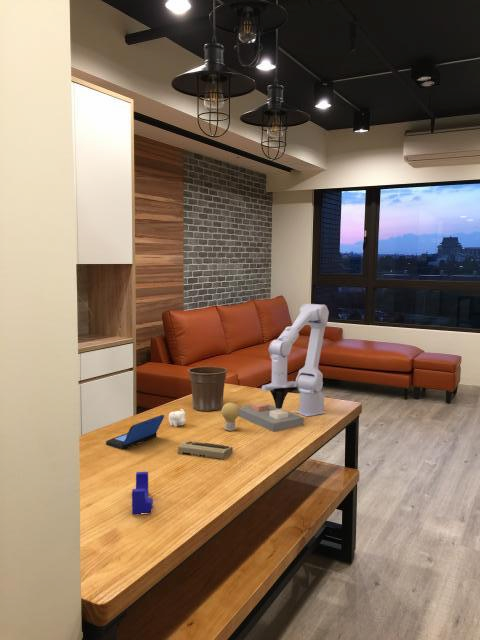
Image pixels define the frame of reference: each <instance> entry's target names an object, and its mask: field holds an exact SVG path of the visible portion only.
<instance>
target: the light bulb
mask: <svg viewBox="0 0 480 640" xmlns="http://www.w3.org/2000/svg"><path fill="white" fill-rule="evenodd" d="M239 408H240V407H239V406H238V405H237V404H236V403H234V402H227V403H225V404H223V405H222V408H221V416H222V417H223V418H224V420H225V421H224V429H225V430H226V431H229V432H233V431H235V430H236V420H237V418H238V417H239V416H238V415H239Z"/></svg>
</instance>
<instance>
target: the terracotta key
mask: <svg viewBox="0 0 480 640" xmlns="http://www.w3.org/2000/svg"><path fill="white" fill-rule="evenodd" d="M265 403H266V402H263V401H260V402H254V403H251V405H250V406H251V409H253V410H256V411H258V412H260V411H265V410H269V405H270V404H269V403H267V404H265ZM268 404H269V405H268Z"/></svg>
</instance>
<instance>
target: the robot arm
mask: <svg viewBox="0 0 480 640" xmlns="http://www.w3.org/2000/svg"><path fill="white" fill-rule="evenodd" d="M329 314H330V312H329V309H328V306H327V305H326V304H316V303H307V302H305V303H303V304H302V306H301V307H300V308H299V314H298V316H297V317H296V319H295V321H294V322H293V323H292V325H291V326H290V325H289V326H286V327H285V329H284V330H283V331H282V333H280V335H279V337H277V339H273V340H272V341H271V342H270V343H269V347H268V353H269V356H270V359H271V382H270V383H268V384H264V385H261V391H262V392H265V393H266V392H269V391H270V393H271V396H272V398H273V401H274V404H275V407H276V408H278V409H283V405H284V402H285V399H286V397H287V395H288V394H289V389H290V388H297V389H298V392H299V409H297V410H295V411H294V412H295V414H296V413H297V414H300V415H301V416H303V417H304V416H305V417H312V416H317V415H322V414H326V412H325V411H324V410H325V407H324V406H325V396H324V393H323V392H322V389H323V384H324V382H323V378H324V375H323V373H322V372H321V371H320V370H319V363H320V359H321V353H322V347H323V340H324V335H325V331H326V329H325V328H326V326H327V325H328V320H329ZM306 325H309V326H310V335H309V340H308V345H307V353H306V357H305V362H304V366H303V367H302V368H300V369H299V370H298V373H297V376H296V377H295V378H296V379H295V381H294V380H291V381H288V356H289V355H290V354H291V352H292V348H293V344H295V342H296V341H297V340H298V338H299V337H300V333H299V332H300V331H301V330H302V329H303V328H304V327H305V326H306ZM287 388H289V389H287Z"/></svg>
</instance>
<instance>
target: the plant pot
mask: <svg viewBox="0 0 480 640" xmlns="http://www.w3.org/2000/svg"><path fill="white" fill-rule="evenodd" d="M187 372H188V373H189V374H188V375H189V380H190V383H191V384H190V385H191V394H192V395H191V398H192V408H193V409H195V410H196V411H200V412H212V411H219V410H222V407H223V406H224V404H223V403H224V391H225V382H226V380H227V379H226V378H227V372H228V369H227V368H226V367H220V366H211V365H210V366H197V367H195V366H194V367H192V368H189V369H187Z"/></svg>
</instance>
